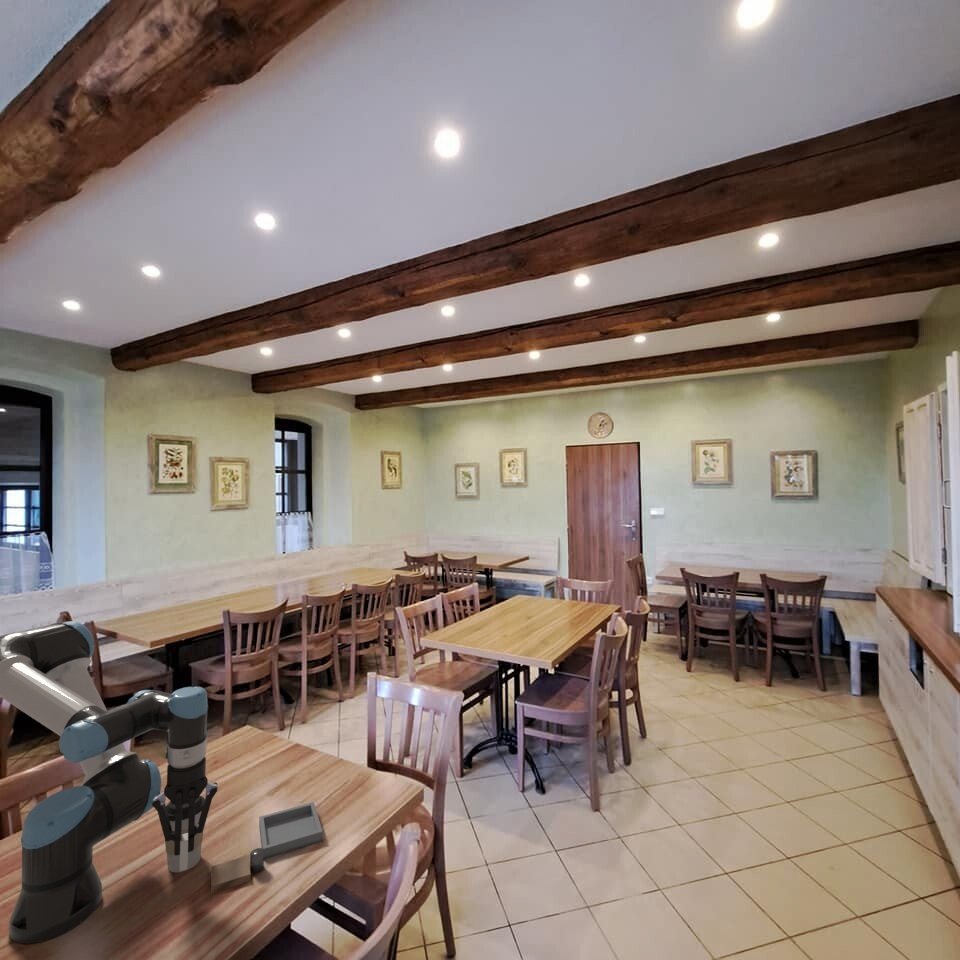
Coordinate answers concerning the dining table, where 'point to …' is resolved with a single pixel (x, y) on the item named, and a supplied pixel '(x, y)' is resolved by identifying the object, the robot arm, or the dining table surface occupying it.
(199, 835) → the coffee cup
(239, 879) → the board
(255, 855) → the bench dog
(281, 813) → the tray
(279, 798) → the dining table surface
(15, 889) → the dining table surface
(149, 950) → the dining table surface
